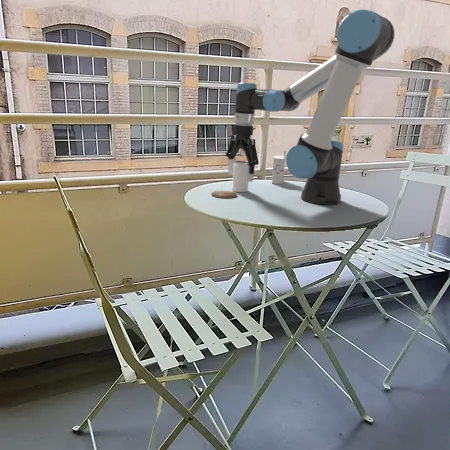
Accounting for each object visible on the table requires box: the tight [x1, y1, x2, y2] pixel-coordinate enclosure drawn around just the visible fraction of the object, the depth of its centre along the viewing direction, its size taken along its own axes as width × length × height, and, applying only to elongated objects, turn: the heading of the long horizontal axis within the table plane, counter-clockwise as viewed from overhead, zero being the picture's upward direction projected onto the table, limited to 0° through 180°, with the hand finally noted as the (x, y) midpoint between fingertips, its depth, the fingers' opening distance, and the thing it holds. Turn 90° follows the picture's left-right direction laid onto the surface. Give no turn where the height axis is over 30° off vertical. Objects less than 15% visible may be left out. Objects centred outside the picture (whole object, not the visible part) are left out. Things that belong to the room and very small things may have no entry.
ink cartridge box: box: [271, 149, 287, 185], centre depth 179 cm, size 9×5×15 cm, turn 168°
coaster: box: [211, 190, 238, 199], centre depth 153 cm, size 10×10×1 cm
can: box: [231, 160, 249, 194], centre depth 160 cm, size 6×6×12 cm
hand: (240, 178), depth 160 cm, fingers open, 13 cm apart
